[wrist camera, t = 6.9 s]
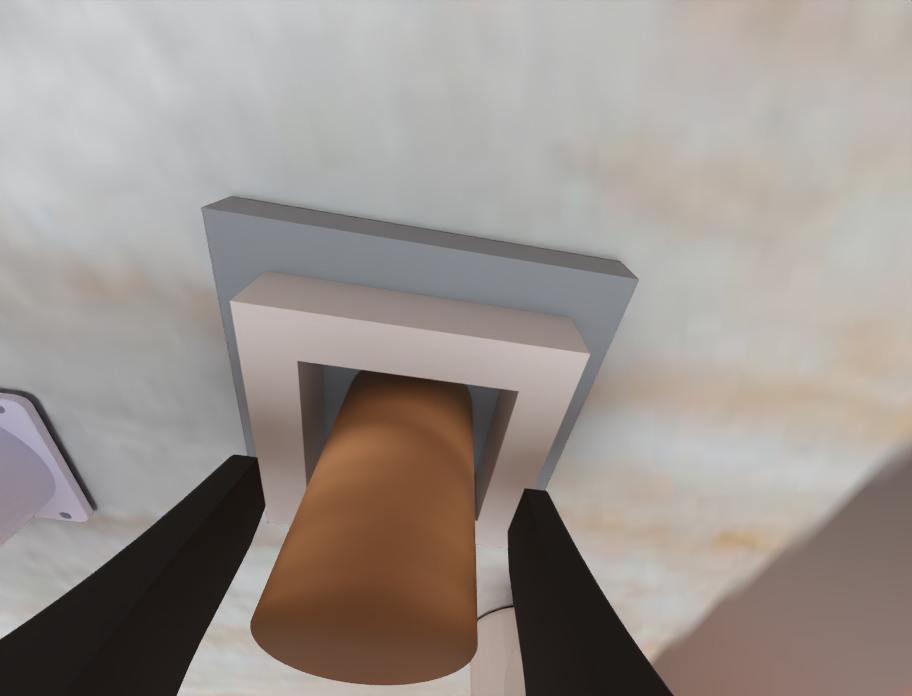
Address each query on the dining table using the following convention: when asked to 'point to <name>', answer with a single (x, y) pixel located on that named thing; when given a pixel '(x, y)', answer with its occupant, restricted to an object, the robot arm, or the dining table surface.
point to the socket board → (406, 338)
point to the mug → (497, 657)
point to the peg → (382, 542)
